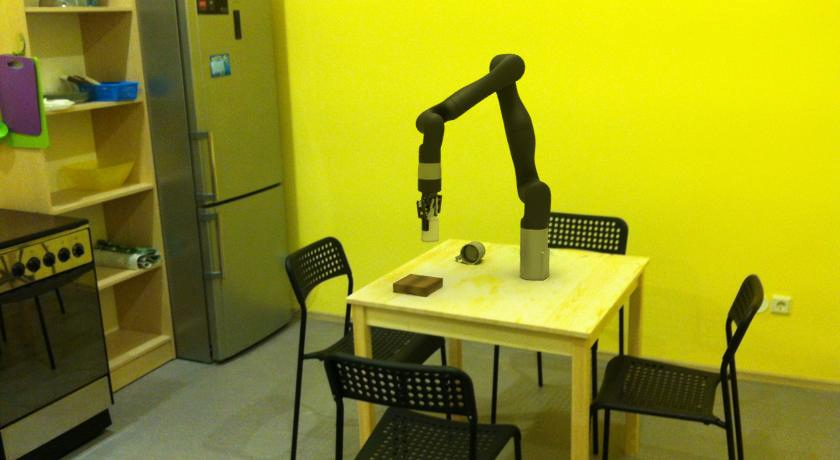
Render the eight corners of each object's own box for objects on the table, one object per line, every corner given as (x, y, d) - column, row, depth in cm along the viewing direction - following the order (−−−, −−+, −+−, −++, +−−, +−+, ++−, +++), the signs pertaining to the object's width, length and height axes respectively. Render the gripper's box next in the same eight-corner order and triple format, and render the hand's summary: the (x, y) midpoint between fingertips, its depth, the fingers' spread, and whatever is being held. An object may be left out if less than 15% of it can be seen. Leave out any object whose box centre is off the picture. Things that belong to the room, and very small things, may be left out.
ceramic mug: (486, 259, 297) (486, 239, 296) (479, 265, 290) (479, 244, 288) (459, 257, 302) (459, 237, 300) (452, 263, 294) (451, 242, 293)
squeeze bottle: (436, 243, 257) (437, 206, 254) (419, 242, 258) (420, 205, 255) (439, 240, 261) (440, 203, 258) (422, 239, 262) (423, 202, 259)
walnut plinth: (442, 286, 266) (442, 277, 265) (426, 297, 256) (426, 287, 255) (410, 282, 271) (410, 273, 271) (393, 292, 261) (392, 283, 260)
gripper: (430, 180, 247) (429, 235, 251) (450, 174, 259) (449, 226, 263) (408, 178, 250) (408, 232, 254) (429, 172, 263) (428, 223, 266)
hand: (429, 229), depth 258 cm, fingers closed on squeeze bottle, 5 cm apart
